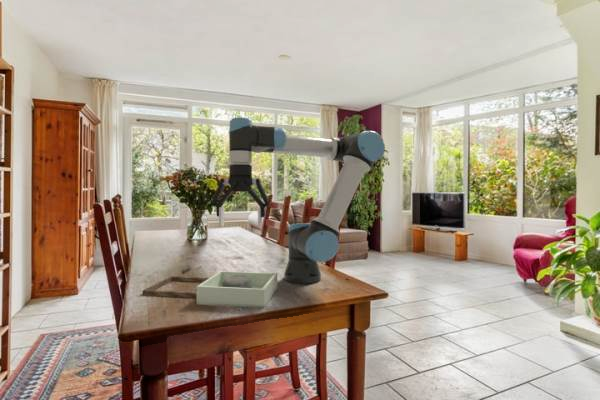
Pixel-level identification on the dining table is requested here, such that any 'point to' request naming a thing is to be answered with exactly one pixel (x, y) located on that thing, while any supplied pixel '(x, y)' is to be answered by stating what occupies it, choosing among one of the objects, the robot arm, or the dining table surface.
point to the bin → (237, 290)
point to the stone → (238, 281)
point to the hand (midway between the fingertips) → (240, 226)
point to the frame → (155, 292)
